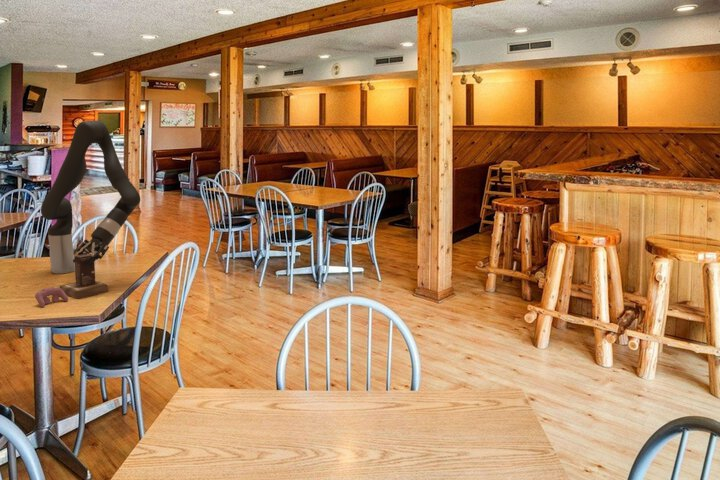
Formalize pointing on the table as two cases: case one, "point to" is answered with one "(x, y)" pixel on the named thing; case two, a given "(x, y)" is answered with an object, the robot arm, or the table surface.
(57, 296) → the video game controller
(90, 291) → the base board
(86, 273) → the box
